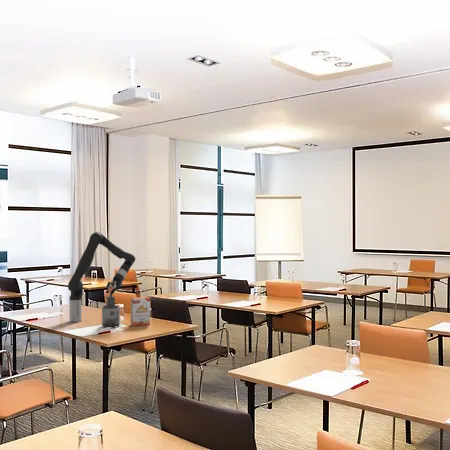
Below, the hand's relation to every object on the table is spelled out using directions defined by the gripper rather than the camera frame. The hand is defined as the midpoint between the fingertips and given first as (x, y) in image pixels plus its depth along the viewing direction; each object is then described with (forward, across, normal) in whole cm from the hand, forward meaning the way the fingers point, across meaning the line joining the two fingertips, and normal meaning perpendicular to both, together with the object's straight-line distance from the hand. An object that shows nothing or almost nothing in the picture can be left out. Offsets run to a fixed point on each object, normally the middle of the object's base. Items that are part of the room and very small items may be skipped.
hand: (109, 293), depth 400 cm
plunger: (+5, 0, +7) cm, 9 cm away
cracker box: (+6, +16, +30) cm, 35 cm away
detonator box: (+17, +2, +18) cm, 25 cm away
